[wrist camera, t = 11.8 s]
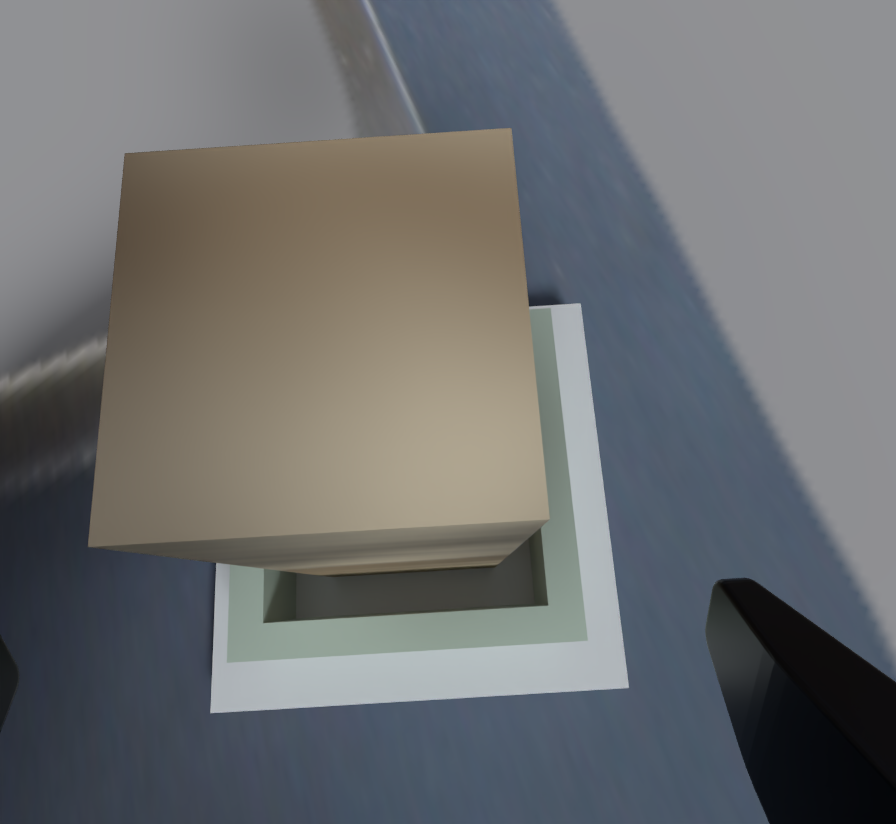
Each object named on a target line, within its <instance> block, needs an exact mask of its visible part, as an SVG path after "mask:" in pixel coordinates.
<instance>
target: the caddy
mask: <svg viewBox="0 0 896 824" xmlns="http://www.w3.org/2000/svg"><path fill="white" fill-rule="evenodd" d="M529 313H530V323H531V333H532V343H533V353H534V363H535V373H536V383H537V393H538V404H539V414H540V424H541V434H542V444H543V454H544V464H545V474H546V484H547V495H548V505H549V515H550V520H549V521H548V522H546V523H545V524H544V525H543V526H542V527H541V528H540V529H538V530H537V531H536V532H535V533H534V534H533V535H532V536H530V537H529V538H528V539H527V540H526V541H525V542H523V543H522V544H521V545H520V546H519V547H518V548H517V549H515V550H514V551H513V552H512V553H511V554H510V555H509V556H507V557H506V558H505V559H504V560H503V561H502V562H501V563H499V564H498V565H497V566H496V567H495V568H478V569H461V570H444V571H428V572H411V573H394V574H377V575H360V576H343V577H327V576H319V575H311V574H303V573H295V572H287V571H278V570H270V569H262V568H254V567H246V566H238V565H230V564H222V563H216V583H215V610H214V637H213V663H212V690H211V713H221V712H238V711H254V710H271V709H288V708H304V707H321V706H337V705H354V704H370V703H387V702H404V701H420V700H437V699H453V698H470V697H486V696H503V695H520V694H536V693H553V692H569V691H586V690H602V689H619V688H629V685H628V677H627V669H626V661H625V653H624V645H623V637H622V629H621V621H620V613H619V605H618V597H617V590H616V582H615V574H614V566H613V558H612V550H611V542H610V534H609V526H608V518H607V510H606V502H605V494H604V486H603V478H602V470H601V462H600V455H599V447H598V439H597V431H596V423H595V415H594V407H593V399H592V391H591V383H590V375H589V367H588V359H587V351H586V343H585V335H584V327H583V320H582V312H581V304H580V303H578V304H563V305H548V306H532V307H529Z"/></svg>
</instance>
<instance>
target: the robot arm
mask: <svg viewBox="0 0 896 824" xmlns="http://www.w3.org/2000/svg"><path fill="white" fill-rule="evenodd" d="M705 633H706V641H707V645H708V649H709V652H710V655H711V659H712V662H713V665H714V668H715V671H716V675H717V678H718V681H719V684H720V687H721V691H722V694H723V697H724V700H725V703H726V707H727V710H728V713H729V716H730V719H731V723H732V726H733V729H734V732H735V735H736V739H737V742H738V745H739V748H740V751H741V754H742V757H743V760H744V763H745V766H746V769H747V771H748V774H749V776H750V779H751V781H752V784H753V786H754V789H755V791H756V793H757V796H758V798H759V800H760V803H761V805H762V807H763V810H764V812H765V814H766V817H767V819H768V821H769V823H770V824H896V682H895V681H894V680H892V679H891V678H890V677H888V676H887V675H885V674H884V673H883V672H881V671H880V670H878V669H877V668H876V667H874V666H873V665H871V664H870V663H869V662H867V661H866V660H864V659H863V658H862V657H860V656H859V655H857V654H856V653H855V652H853V651H852V650H850V649H849V648H848V647H846V646H845V645H844V644H842V643H841V642H839V641H838V640H837V639H835V638H834V637H832V636H831V635H830V634H828V633H827V632H825V631H824V630H823V629H821V628H820V627H818V626H817V625H816V624H814V623H813V622H811V621H810V620H809V619H807V618H806V617H804V616H803V615H802V614H800V613H799V612H798V611H796V610H795V609H793V608H792V607H791V606H789V605H788V604H786V603H785V602H784V601H782V600H781V599H779V598H778V597H777V596H775V595H774V594H772V593H771V592H770V591H768V590H767V589H765V588H764V587H763V586H761V585H760V584H758V583H757V582H755V581H754V580H752V579H749V578H734V579H721V580H718V581H717V582H715V584H714V586H713V589H712V594H711V599H710V605H709V610H708V616H707V621H706V628H705ZM18 683H19V669H18V666H17V664H16V662H15V660H14V659H13V657H12V655H11V653H10V651H9V649H8V648H7V646H6V644H5V642H4V640H3V639H2V637H1V635H0V732H1V729H2V727H3V724H4V722H5V719H6V717H7V714H8V711H9V709H10V706H11V704H12V701H13V698H14V696H15V693H16V691H17V688H18Z"/></svg>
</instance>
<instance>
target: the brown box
mask: <svg viewBox="0 0 896 824" xmlns="http://www.w3.org/2000/svg"><path fill="white" fill-rule="evenodd" d="M549 520H550V515H549V505H548V495H547V484H546V474H545V464H544V454H543V444H542V434H541V424H540V414H539V404H538V393H537V383H536V373H535V363H534V353H533V343H532V333H531V323H530V313H529V302H528V292H527V282H526V272H525V262H524V252H523V242H522V232H521V222H520V212H519V201H518V191H517V181H516V171H515V161H514V151H513V141H512V131H511V128H505V129H490V130H474V131H459V132H444V133H428V134H413V135H398V136H383V137H367V138H352V139H338V140H321V141H307V142H291V143H277V144H261V145H245V146H230V147H215V148H201V149H200V148H199V149H185V150H169V151H155V152H154V151H153V152H138V153H125V157H124V168H123V178H122V189H121V199H120V210H119V221H118V231H117V242H116V253H115V263H114V274H113V284H112V295H111V306H110V317H109V327H108V338H107V348H106V359H105V370H104V380H103V391H102V402H101V412H100V423H99V434H98V444H97V455H96V466H95V476H94V487H93V498H92V508H91V519H90V530H89V540H88V547H92V548H100V549H108V550H116V551H124V552H132V553H140V554H149V555H157V556H165V557H173V558H181V559H189V560H197V561H205V562H213V563H222V564H230V565H238V566H246V567H254V568H262V569H270V570H278V571H287V572H295V573H303V574H311V575H319V576H327V577H343V576H360V575H377V574H394V573H411V572H428V571H444V570H461V569H478V568H495V567H496V566H497V565H498V564H499V563H501V562H502V561H503V560H504V559H505V558H506V557H507V556H509V555H510V554H511V553H512V552H513V551H514V550H515V549H517V548H518V547H519V546H520V545H521V544H522V543H523V542H525V541H526V540H527V539H528V538H529V537H530V536H532V535H533V534H534V533H535V532H536V531H537V530H538V529H540V528H541V527H542V526H543V525H544V524H545V523H546V522H548V521H549Z"/></svg>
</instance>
